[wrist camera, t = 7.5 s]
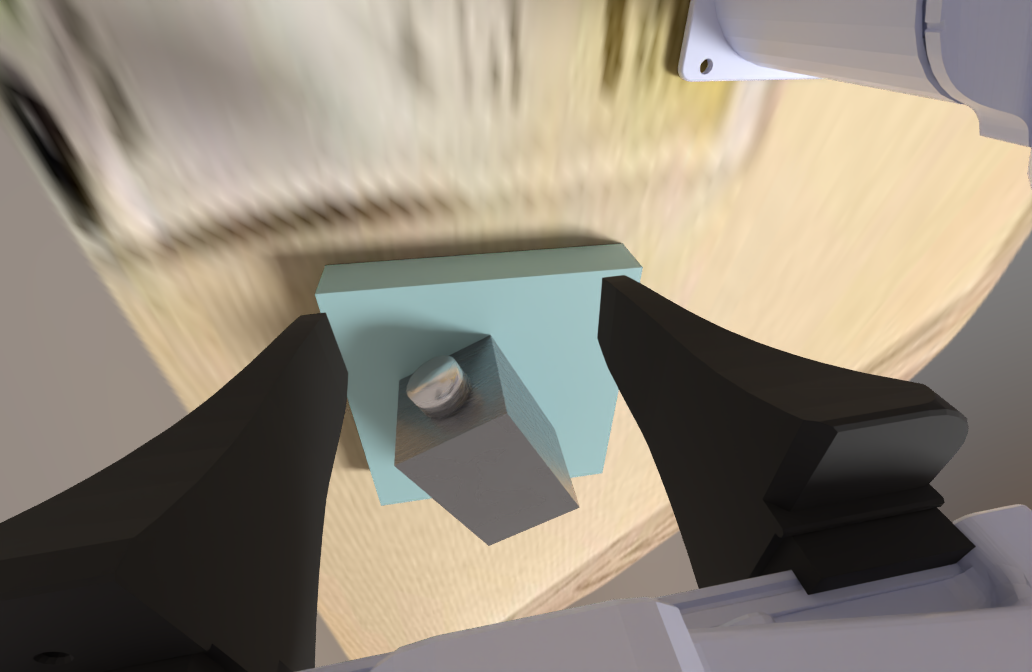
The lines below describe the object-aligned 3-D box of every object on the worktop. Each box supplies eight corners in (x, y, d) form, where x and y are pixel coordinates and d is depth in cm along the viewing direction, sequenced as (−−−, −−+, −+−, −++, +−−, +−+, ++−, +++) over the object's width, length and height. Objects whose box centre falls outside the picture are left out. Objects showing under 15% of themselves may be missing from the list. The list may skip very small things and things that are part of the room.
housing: (554, 429, 25) (579, 507, 21) (478, 463, 26) (489, 545, 22) (478, 316, 20) (492, 394, 16) (384, 364, 21) (375, 449, 17)
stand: (622, 243, 22) (642, 267, 20) (590, 443, 31) (602, 473, 29) (325, 265, 20) (314, 294, 18) (383, 471, 29) (381, 505, 27)
